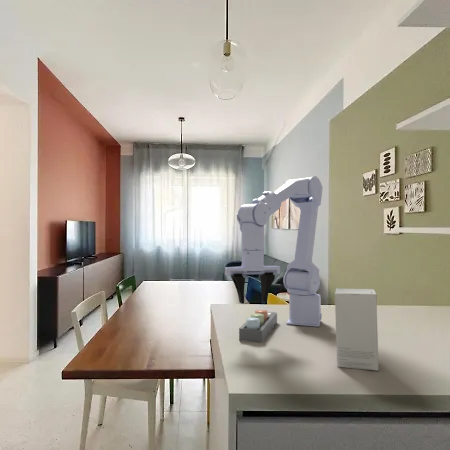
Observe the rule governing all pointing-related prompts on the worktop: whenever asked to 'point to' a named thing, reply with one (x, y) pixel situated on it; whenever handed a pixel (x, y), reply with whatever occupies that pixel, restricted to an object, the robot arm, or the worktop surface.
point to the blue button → (253, 323)
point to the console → (258, 334)
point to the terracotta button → (263, 313)
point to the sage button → (258, 317)
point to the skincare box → (356, 328)
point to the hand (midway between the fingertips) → (252, 302)
